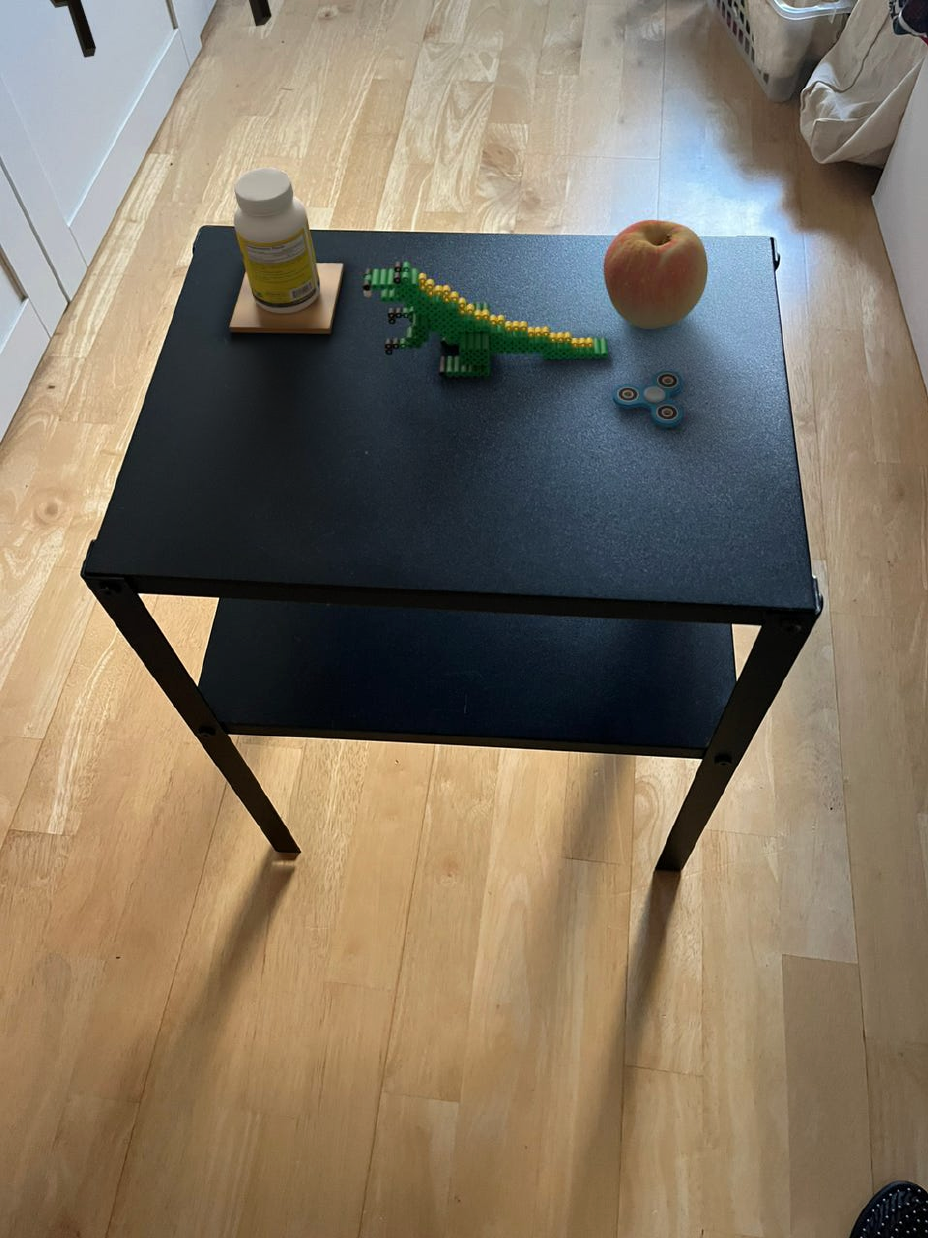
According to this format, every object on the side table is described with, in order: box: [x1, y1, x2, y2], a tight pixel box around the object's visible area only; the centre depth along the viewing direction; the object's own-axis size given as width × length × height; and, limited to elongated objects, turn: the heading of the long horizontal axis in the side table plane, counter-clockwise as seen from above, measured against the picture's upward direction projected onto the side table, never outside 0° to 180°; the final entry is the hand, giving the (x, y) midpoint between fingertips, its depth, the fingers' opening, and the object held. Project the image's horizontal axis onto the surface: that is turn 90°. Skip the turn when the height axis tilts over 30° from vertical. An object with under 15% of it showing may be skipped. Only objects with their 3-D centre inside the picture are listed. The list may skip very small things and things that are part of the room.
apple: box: [603, 219, 709, 330], centre depth 88 cm, size 9×9×8 cm
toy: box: [612, 369, 684, 428], centre depth 85 cm, size 6×6×1 cm
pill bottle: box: [233, 167, 320, 314], centre depth 89 cm, size 6×6×11 cm
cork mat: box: [229, 262, 345, 335], centre depth 94 cm, size 9×9×1 cm
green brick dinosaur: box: [362, 260, 609, 378], centre depth 86 cm, size 20×6×9 cm, turn 89°
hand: (179, 37), depth 80 cm, fingers open, 13 cm apart
